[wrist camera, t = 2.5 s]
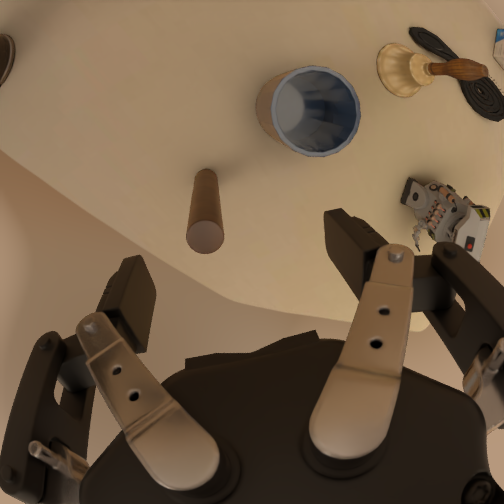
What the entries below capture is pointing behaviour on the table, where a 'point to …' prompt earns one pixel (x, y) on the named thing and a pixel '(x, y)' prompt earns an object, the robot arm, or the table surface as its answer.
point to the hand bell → (420, 69)
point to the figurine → (447, 216)
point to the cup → (309, 110)
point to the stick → (205, 214)
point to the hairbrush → (492, 96)
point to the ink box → (499, 47)
